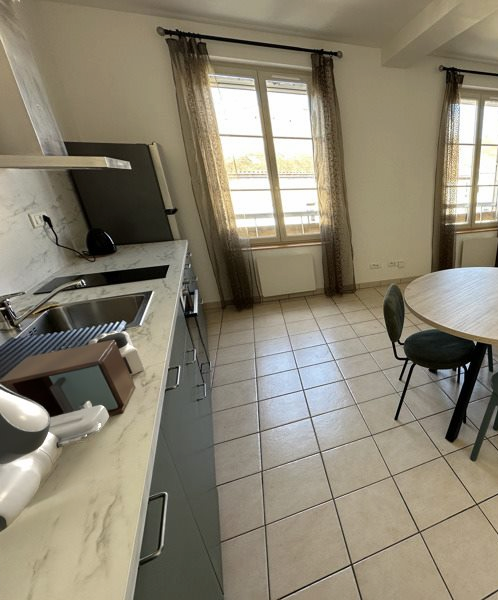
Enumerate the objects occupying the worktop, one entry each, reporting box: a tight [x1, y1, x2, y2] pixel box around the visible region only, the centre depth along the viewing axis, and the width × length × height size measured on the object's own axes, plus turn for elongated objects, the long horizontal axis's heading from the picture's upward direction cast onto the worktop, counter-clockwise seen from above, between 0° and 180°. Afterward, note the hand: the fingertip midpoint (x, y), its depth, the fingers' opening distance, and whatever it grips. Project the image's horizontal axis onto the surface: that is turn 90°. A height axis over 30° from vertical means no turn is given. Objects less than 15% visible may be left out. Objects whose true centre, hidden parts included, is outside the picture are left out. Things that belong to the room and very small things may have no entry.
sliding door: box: [49, 365, 118, 414], centre depth 79 cm, size 9×5×13 cm, turn 114°
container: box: [97, 333, 145, 377], centre depth 100 cm, size 8×8×13 cm
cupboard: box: [0, 340, 137, 418], centre depth 84 cm, size 18×12×16 cm, turn 114°
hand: (61, 410), depth 75 cm, fingers open, 8 cm apart
